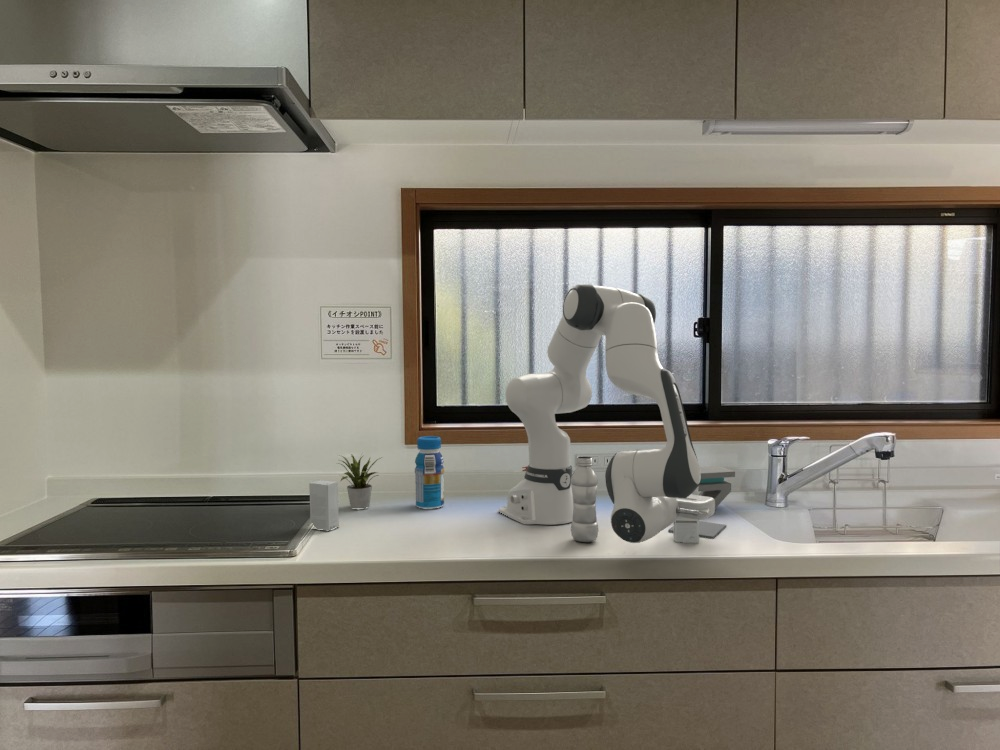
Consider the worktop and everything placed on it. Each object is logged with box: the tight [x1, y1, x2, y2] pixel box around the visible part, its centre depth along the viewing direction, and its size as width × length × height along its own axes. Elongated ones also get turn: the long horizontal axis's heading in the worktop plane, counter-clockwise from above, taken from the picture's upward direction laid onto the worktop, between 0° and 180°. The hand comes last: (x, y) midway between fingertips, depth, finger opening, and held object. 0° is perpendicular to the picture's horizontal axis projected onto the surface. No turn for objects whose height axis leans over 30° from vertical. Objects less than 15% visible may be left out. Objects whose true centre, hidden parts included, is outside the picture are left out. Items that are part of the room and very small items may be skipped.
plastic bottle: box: [570, 455, 599, 543], centre depth 159 cm, size 6×7×20 cm
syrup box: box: [672, 487, 700, 544], centre depth 159 cm, size 6×6×14 cm
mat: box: [667, 520, 727, 539], centre depth 168 cm, size 12×11×1 cm
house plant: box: [337, 453, 383, 509], centre depth 192 cm, size 14×14×16 cm
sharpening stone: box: [698, 465, 736, 510], centre depth 188 cm, size 25×8×11 cm, turn 103°
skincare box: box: [308, 479, 340, 530], centre depth 171 cm, size 6×4×12 cm
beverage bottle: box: [414, 435, 445, 509], centre depth 193 cm, size 8×8×20 cm
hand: (677, 495), depth 154 cm, fingers closed
